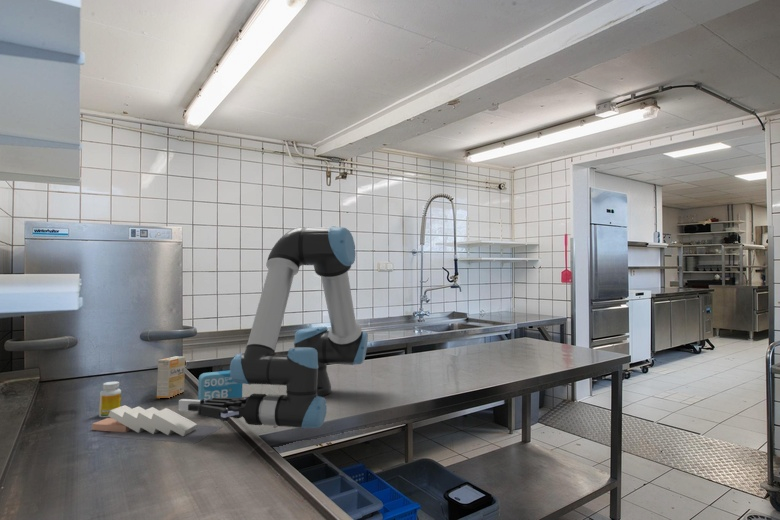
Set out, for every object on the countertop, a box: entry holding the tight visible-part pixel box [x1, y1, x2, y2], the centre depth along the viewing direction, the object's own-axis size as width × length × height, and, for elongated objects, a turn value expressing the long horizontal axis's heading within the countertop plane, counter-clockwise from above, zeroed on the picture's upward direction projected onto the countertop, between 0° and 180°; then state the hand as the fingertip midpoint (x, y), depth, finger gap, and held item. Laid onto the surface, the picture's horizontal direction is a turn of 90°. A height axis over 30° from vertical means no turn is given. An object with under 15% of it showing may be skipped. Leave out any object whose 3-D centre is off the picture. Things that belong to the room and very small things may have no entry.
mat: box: [102, 424, 223, 444], centre depth 112 cm, size 26×12×1 cm, turn 81°
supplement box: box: [156, 355, 186, 399], centre depth 148 cm, size 8×5×13 cm, turn 168°
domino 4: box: [137, 406, 174, 435], centre depth 112 cm, size 2×5×10 cm
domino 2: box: [108, 405, 145, 433], centre depth 114 cm, size 2×5×10 cm
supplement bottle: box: [98, 381, 122, 418], centre depth 126 cm, size 5×5×10 cm
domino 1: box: [91, 417, 132, 432], centre depth 114 cm, size 2×5×10 cm
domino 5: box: [151, 407, 198, 436], centre depth 112 cm, size 2×5×10 cm
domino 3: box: [123, 406, 159, 434], centre depth 113 cm, size 2×5×10 cm
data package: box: [197, 369, 243, 401], centre depth 130 cm, size 12×4×12 cm, turn 123°
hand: (180, 404), depth 112 cm, fingers closed
